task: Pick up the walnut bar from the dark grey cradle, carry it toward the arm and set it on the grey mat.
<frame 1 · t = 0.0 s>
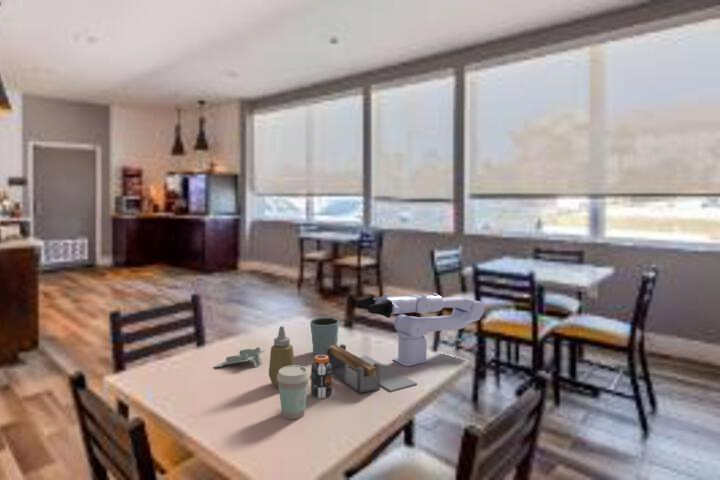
hand: (362, 306, 153), 22 cm above the table, tool horizontal, fingers open, 7 cm apart
teal tumbler: (324, 354, 173), on the table
squeeze bottle: (282, 385, 145), on the table
pill bottle: (321, 395, 138), on the table
walnut bar: (351, 363, 149), point 5 cm above the table, touching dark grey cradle
coffee cup: (293, 415, 126), on the table
grey mat: (377, 372, 155), on the table
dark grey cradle: (351, 379, 150), on the table
metal bracket: (242, 364, 163), on the table
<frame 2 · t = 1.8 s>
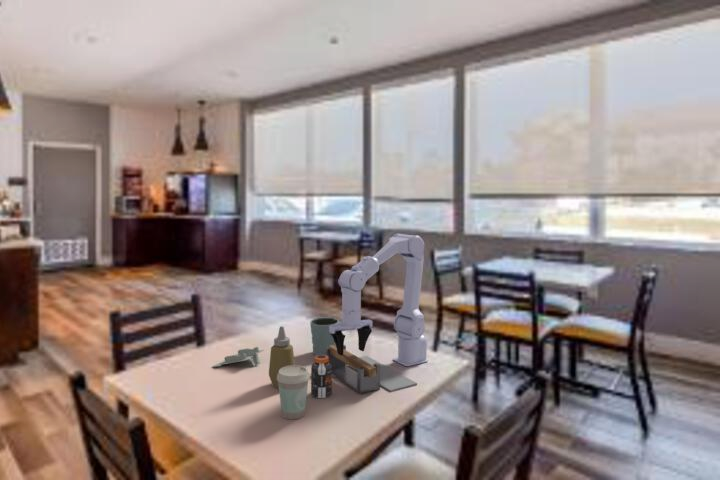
hand: (351, 352, 149), 9 cm above the table, tool pointing down, fingers open, 7 cm apart
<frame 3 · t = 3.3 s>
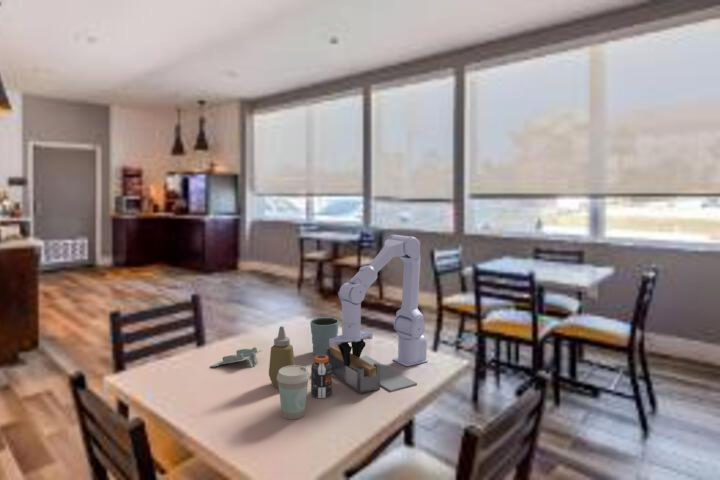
hand: (351, 364, 149), 5 cm above the table, tool pointing down, fingers closed on walnut bar, 2 cm apart
walnut bar: (351, 363, 149), point 5 cm above the table, touching gripper, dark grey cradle
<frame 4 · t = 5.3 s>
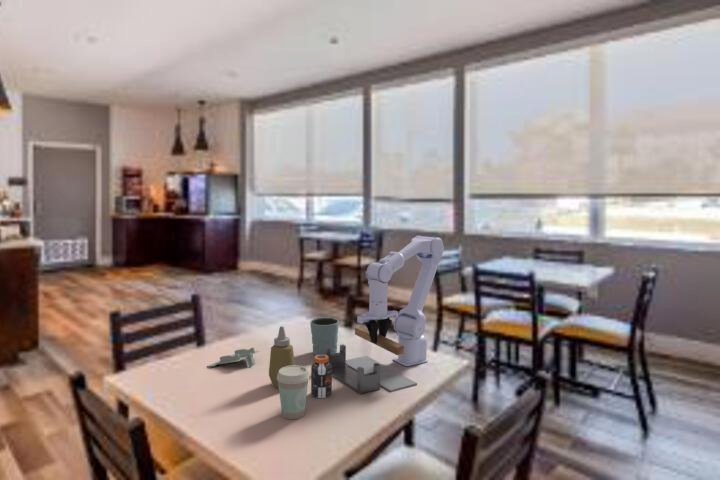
hand: (377, 342, 154), 10 cm above the table, tool pointing down, fingers closed on walnut bar, 2 cm apart
walnut bar: (377, 343, 154), point 10 cm above the table, touching gripper
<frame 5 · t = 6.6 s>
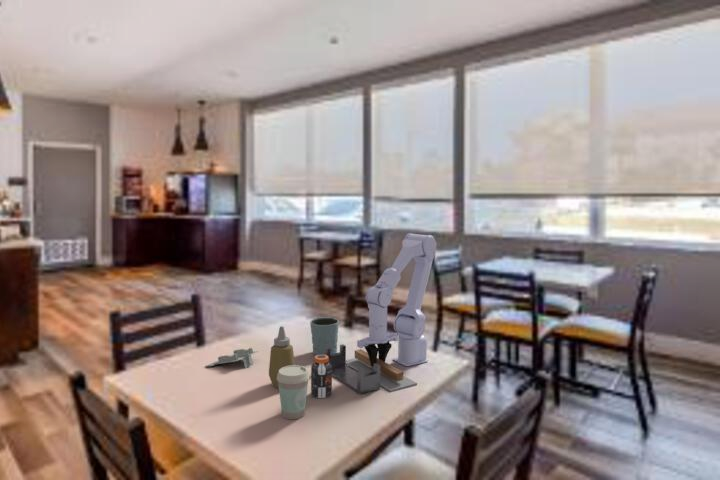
hand: (377, 365, 155), 2 cm above the table, tool pointing down, fingers closed on walnut bar, 2 cm apart
walnut bar: (377, 368, 155), point 2 cm above the table, touching gripper
when the fingers open (2 cm above the table, at t = 7.5 s): walnut bar stays where it is, resting on grey mat.
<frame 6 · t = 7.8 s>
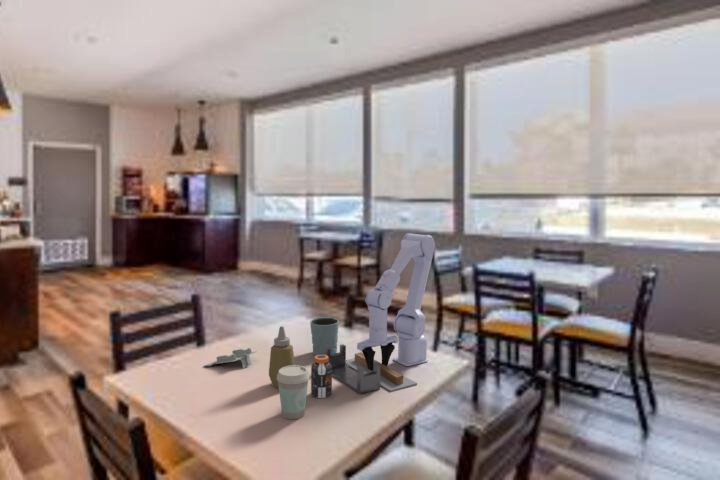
hand: (377, 367, 155), 2 cm above the table, tool pointing down, fingers open, 5 cm apart
walnut bar: (377, 371, 155), resting on grey mat
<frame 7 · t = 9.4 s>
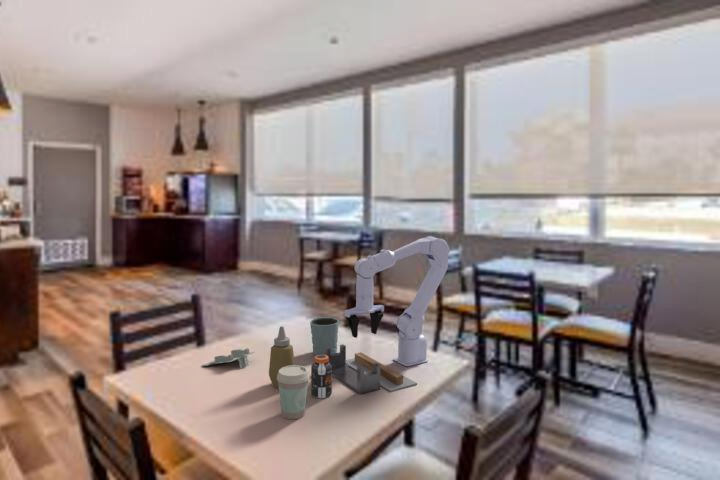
hand: (364, 335, 160), 10 cm above the table, tool pointing down, fingers open, 7 cm apart
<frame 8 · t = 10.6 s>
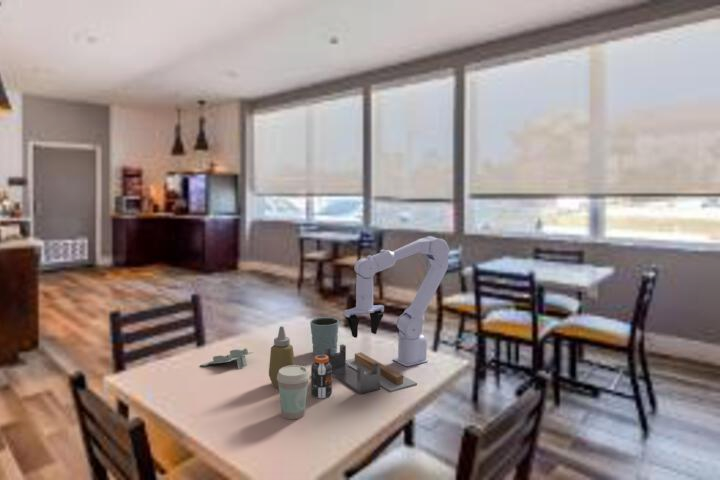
hand: (364, 335, 160), 10 cm above the table, tool pointing down, fingers open, 7 cm apart
at the end: walnut bar 0.0 cm off-centre on the grey mat, point 0.5 cm above the grey mat's base; walnut bar touching grey mat; the gripper is holding nothing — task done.
